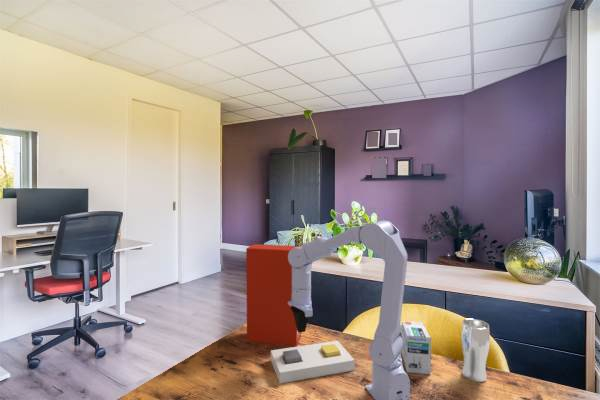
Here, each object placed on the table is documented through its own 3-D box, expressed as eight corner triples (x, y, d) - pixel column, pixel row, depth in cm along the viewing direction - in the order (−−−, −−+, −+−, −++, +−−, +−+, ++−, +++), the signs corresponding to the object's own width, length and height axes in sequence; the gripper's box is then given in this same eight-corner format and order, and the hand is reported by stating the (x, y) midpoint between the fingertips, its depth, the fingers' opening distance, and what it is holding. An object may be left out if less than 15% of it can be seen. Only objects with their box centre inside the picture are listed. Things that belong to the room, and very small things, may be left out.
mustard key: (340, 360, 95) (340, 350, 95) (326, 363, 94) (326, 353, 93) (334, 353, 99) (334, 343, 99) (320, 355, 98) (320, 345, 98)
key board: (354, 370, 92) (354, 360, 92) (279, 383, 86) (279, 372, 86) (337, 349, 104) (337, 340, 103) (270, 360, 97) (270, 350, 97)
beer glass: (492, 385, 86) (494, 330, 85) (464, 381, 87) (466, 327, 86) (483, 370, 92) (484, 319, 92) (457, 367, 94) (458, 317, 93)
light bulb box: (431, 375, 90) (432, 337, 89) (406, 373, 91) (407, 335, 90) (422, 355, 100) (423, 321, 100) (400, 353, 102) (401, 320, 101)
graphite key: (301, 367, 91) (301, 356, 91) (286, 369, 90) (286, 359, 90) (297, 359, 96) (297, 349, 95) (282, 361, 94) (282, 351, 94)
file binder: (296, 347, 105) (296, 250, 104) (246, 341, 109) (246, 248, 107) (301, 335, 113) (301, 245, 111) (254, 331, 116) (254, 243, 115)
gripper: (282, 280, 101) (282, 323, 102) (295, 295, 87) (295, 344, 88) (303, 278, 103) (303, 320, 104) (319, 293, 89) (319, 340, 90)
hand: (301, 331), depth 96 cm, fingers closed
